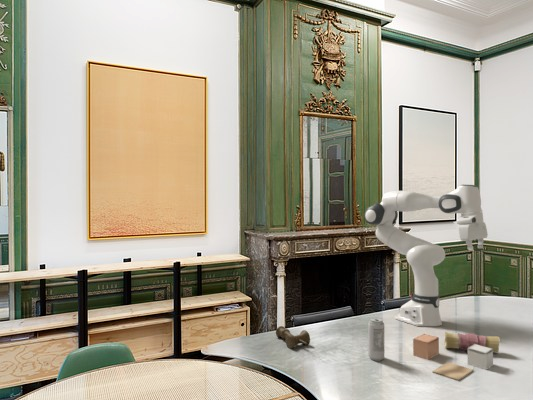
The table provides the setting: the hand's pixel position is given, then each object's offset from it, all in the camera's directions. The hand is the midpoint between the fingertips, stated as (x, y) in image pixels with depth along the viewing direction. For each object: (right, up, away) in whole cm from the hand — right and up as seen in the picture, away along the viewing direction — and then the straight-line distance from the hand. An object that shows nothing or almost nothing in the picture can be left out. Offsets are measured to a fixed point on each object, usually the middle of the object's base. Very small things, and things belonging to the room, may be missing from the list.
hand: (475, 249), depth 179 cm
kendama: (-84, -40, -10) cm, 94 cm away
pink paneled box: (-32, -39, -23) cm, 55 cm away
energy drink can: (-53, -39, -27) cm, 71 cm away
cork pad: (-29, -39, -39) cm, 62 cm away
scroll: (-12, -39, -19) cm, 45 cm away
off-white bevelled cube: (-16, -39, -33) cm, 53 cm away
